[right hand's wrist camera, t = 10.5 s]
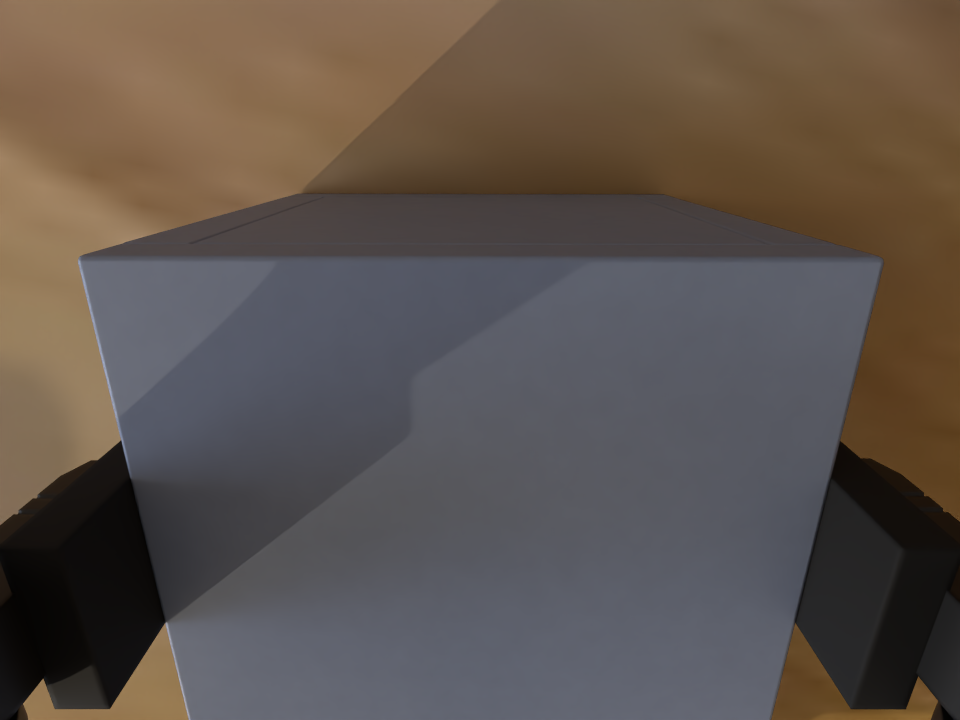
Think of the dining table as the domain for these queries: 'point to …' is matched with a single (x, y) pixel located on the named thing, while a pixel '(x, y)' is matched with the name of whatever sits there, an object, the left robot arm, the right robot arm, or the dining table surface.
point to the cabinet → (480, 450)
